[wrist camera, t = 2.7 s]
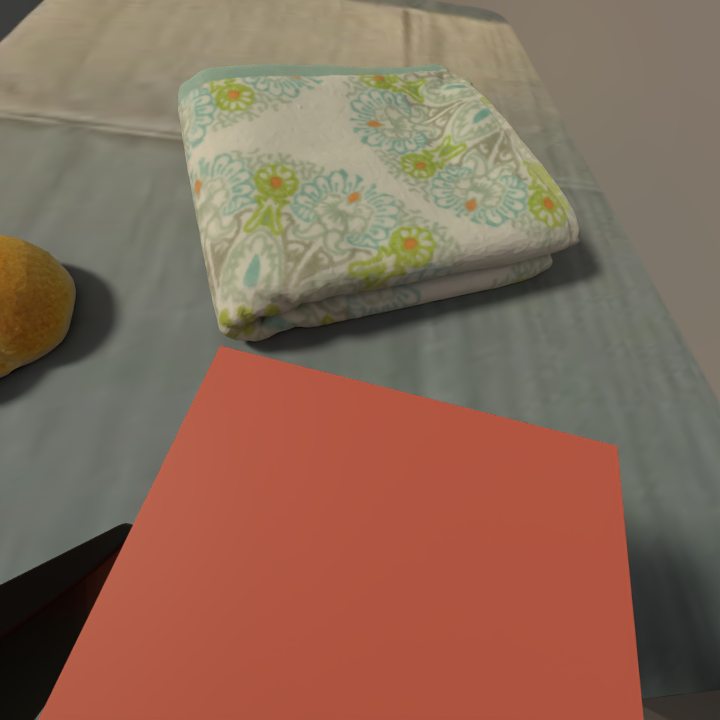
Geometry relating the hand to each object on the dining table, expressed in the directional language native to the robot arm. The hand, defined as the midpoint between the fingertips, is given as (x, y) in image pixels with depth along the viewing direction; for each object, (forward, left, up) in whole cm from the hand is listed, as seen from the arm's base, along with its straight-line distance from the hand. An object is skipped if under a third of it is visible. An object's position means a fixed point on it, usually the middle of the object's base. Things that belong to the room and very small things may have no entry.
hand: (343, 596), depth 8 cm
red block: (0, 0, -8) cm, 8 cm away
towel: (+20, -8, -9) cm, 23 cm away
